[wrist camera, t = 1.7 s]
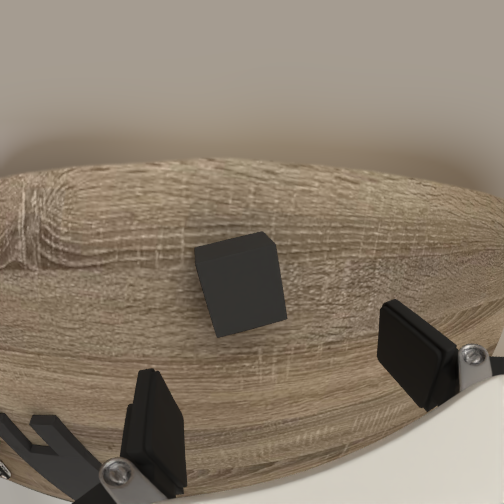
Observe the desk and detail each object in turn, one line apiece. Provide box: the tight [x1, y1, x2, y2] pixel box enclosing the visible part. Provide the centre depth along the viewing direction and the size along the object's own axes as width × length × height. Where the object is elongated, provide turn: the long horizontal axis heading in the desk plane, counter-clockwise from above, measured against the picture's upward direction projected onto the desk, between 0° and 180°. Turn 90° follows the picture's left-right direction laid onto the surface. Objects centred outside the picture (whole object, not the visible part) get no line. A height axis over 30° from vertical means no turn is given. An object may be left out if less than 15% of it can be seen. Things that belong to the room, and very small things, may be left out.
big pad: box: [0, 413, 102, 501], centre depth 22 cm, size 22×13×2 cm, turn 11°
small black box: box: [195, 231, 287, 338], centre depth 18 cm, size 5×4×3 cm
